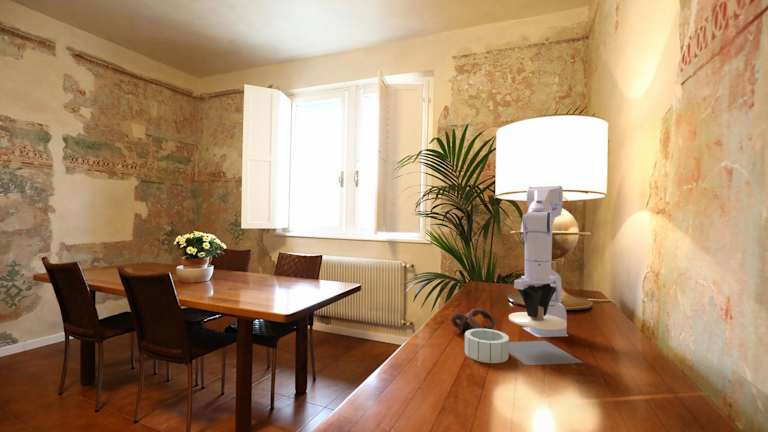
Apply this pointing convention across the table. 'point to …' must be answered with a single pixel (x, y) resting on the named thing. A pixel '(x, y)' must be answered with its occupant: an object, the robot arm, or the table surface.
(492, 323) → the dark brown rounded loops
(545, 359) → the mat
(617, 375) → the table surface
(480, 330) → the bowl
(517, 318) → the lid
